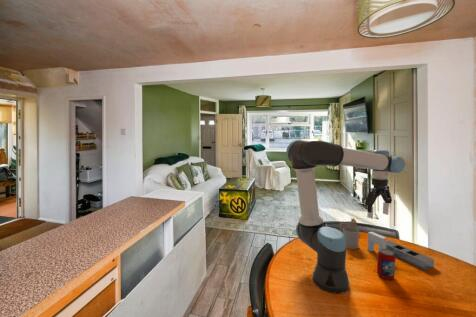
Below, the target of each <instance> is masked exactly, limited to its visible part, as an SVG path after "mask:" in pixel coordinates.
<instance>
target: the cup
mask: <svg viewBox="0 0 476 317" xmlns="http://www.w3.org/2000/svg"><path fill="white" fill-rule="evenodd" d="M359 231H360V230H359V229H358V228H357V229H356V228H354V227H344V228H343V234H344V235H345V238H346V249H352V250H354V249H358V248H359V239H360V238H359V237H360V232H359Z"/></svg>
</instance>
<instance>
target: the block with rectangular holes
mask: <svg viewBox="0 0 476 317" xmlns="http://www.w3.org/2000/svg"><path fill="white" fill-rule="evenodd" d="M386 249H388V250H391V251H392V252H393V253H394V255H395V258H398V259H401V260H403V261H404V262H407V263H409V264H411V265H413V266H415V267H417V268H419V269H421V270H423V271H427V270H429V269H432V268H435V267H434V266H435V259H434V258H432V257H429V256H427V255H424V254H422V253H420V252H417V251H415V250H413V249H411V248H408V247H406V246H404V245H401V244H399V243H397V242H396V241H395V242H394V241H392V240H386Z"/></svg>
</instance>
